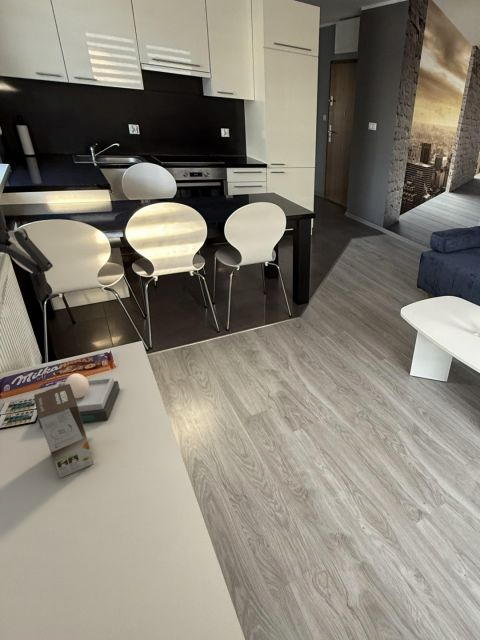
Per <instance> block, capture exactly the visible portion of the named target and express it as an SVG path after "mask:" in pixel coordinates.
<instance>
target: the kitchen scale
mask: <svg viewBox="0 0 480 640" xmlns="http://www.w3.org/2000/svg"><path fill="white" fill-rule="evenodd" d="M87 380H88V383H89V390H88V392H87V393H86V394H85V396H83V397H81V398H75V400H76V402H77V406H78V409H79V412H80V416H81V419H82V422H83V424H88V423H90V424H91V423H97V422H106V421H109V419H110V416H111V414H112V411H113V408H114V406H115V404H116V401H117V399H118V396H119V394H120V391H121V388H120V384H119V380H114V377H103V378H92V379H87ZM65 382H66V381H60V382H56V384H55V385H54V387H53V388H56V387H59V386H63V385H65ZM37 421H38V425H39V427H40V429H42V426H41V423H40V421H39V419H38V417H37Z"/></svg>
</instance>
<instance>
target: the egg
mask: <svg viewBox="0 0 480 640" xmlns="http://www.w3.org/2000/svg"><path fill="white" fill-rule="evenodd" d="M88 380H89V379H87V377H86V376H84V375H82V374H81V373H72V374H70V375H68V377H67V378H66V379H65V381H64V382H65V385H67V384H70V386H71V389H72V391H73V394H74V397H75V398H81V397H83V396H85V394H86V393H87V392H88V390H89V383H88Z"/></svg>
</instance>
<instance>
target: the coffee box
mask: <svg viewBox="0 0 480 640" xmlns="http://www.w3.org/2000/svg"><path fill="white" fill-rule="evenodd" d="M33 398H34V403H35V410H36V414H37V418H38V419H39V421H40V423H41V426H42V428H41V429H42V432H43V434H44V437H45V440H46V443H47V446H48V448H49V451H50V454H51V457H52V460H53V462H54V465H55V468H56V471H57V474H58V477H59V478H60V479H61V478H64V477H66V476H68V475H70V474H73V473H76V472H79V471H80V470H83V469H85V468H88V467H89V466H92V465H94V458H93V454H92V450H91V446H90V443H89V440H88V436H87V433H86V429H85V426H84V423H83V422H82V419H81V416H80V412H79V409H78V406H77V402H76V400H75V397H74V394H73V391H72V389H71V386H70V384H67V385H63V386H59V387H56V388H54V387H53V388H50V389H46V390H45V391H42V392H39V393H36V394H34V395H33ZM38 419H37V420H38Z"/></svg>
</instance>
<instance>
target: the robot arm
mask: <svg viewBox="0 0 480 640" xmlns="http://www.w3.org/2000/svg"><path fill="white" fill-rule="evenodd" d="M3 212H4V211H3V209H2V207H1V206H0V252H2V253H3V254H7V255H8V256H9V257H11V258H12V259H14V260H15V261H17V262H18V263H19V264H20V265H22V266H23V267H25V268H26V269H28V270H29V271H30V272H32V273H31V274H30V275H29V276H30V280H31V283H32V286H33V287H32V288H33V291H34V294H35V297H36V301H37V302H42V301H43V300H44V299H45V298H46V297H47V293H46V290H45V286H46V285H47V283H48V280H47V278H46V273H45V272H48V271H50V270H51V269H52V268H53V267H54V265H53V263H52V262H51V261H50V260H49V259H48V258H47V256H46V255H45V254H44V253H43V251H41V250H40V249H39V247H38V246H37V245H36V244H35V243H34V242H33V241H32V239H30V237H29V235H28V232H27V230H26V229H25V228H21V227H20V228H18V229H17V230H15V229H14V230H9V228H8V227H7V225H6V219H5V215H4V213H3ZM10 238H12V239H13V240H14V241H16V242H17V243H18V245H19V246H20V247H21V248H22V249H23V250H22V249H20V248H19V247H18V246H17V244H15V242H13V241H12V240H10Z"/></svg>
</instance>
